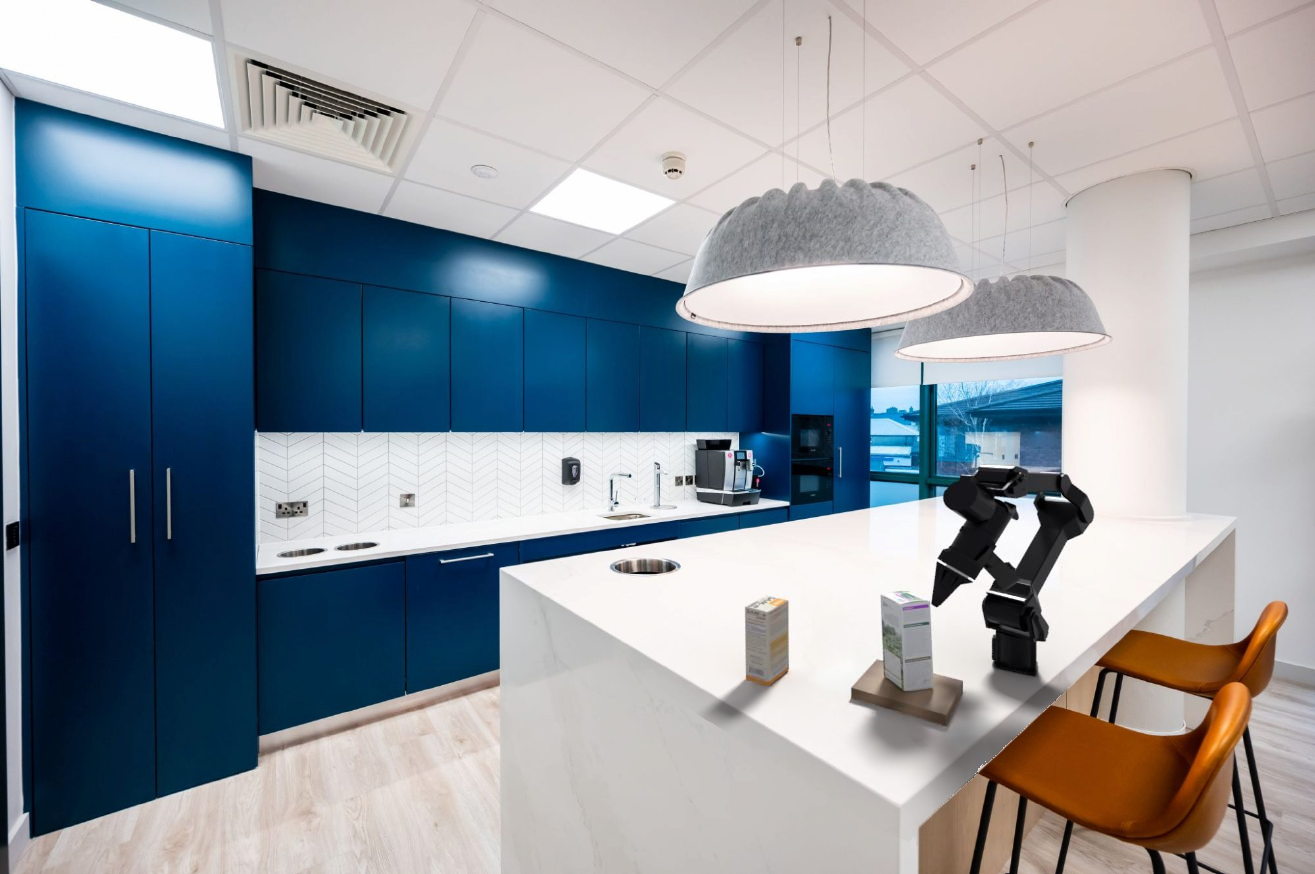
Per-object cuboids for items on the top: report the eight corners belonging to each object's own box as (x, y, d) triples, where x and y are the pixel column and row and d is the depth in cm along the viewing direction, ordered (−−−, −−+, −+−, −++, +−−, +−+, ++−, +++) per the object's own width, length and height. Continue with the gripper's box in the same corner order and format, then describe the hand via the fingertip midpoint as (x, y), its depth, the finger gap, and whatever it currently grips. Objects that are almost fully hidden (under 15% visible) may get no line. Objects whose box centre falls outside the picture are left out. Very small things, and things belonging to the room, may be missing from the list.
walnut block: (963, 695, 91) (963, 680, 91) (946, 731, 80) (946, 714, 80) (876, 672, 99) (876, 659, 99) (851, 702, 88) (851, 687, 88)
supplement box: (766, 663, 102) (766, 594, 101) (789, 670, 99) (789, 599, 98) (743, 679, 95) (743, 605, 95) (768, 687, 92) (768, 611, 92)
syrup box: (935, 688, 88) (932, 599, 88) (903, 692, 87) (900, 602, 86) (912, 672, 93) (909, 589, 93) (881, 677, 92) (879, 592, 92)
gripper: (1036, 553, 83) (983, 638, 84) (1026, 557, 99) (981, 629, 100) (963, 515, 89) (914, 595, 90) (964, 525, 105) (922, 593, 106)
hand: (935, 604), depth 97 cm, fingers open, 9 cm apart
